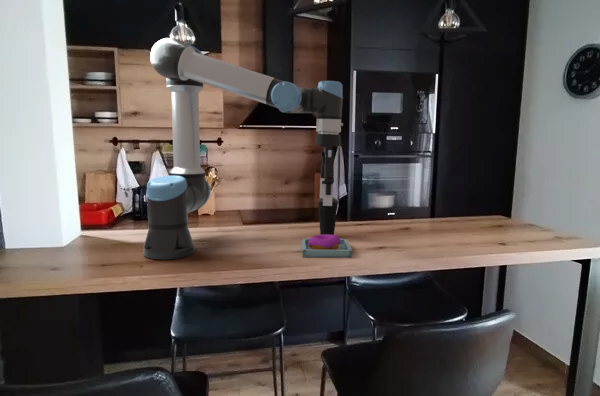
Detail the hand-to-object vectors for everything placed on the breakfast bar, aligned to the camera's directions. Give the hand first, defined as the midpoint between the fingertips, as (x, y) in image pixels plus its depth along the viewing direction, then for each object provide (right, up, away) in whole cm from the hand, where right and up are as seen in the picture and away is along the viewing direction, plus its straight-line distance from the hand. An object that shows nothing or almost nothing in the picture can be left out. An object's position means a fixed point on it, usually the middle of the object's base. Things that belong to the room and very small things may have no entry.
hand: (325, 201), depth 132 cm
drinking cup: (+2, -13, +20) cm, 24 cm away
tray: (0, -16, +2) cm, 16 cm away
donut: (0, -15, +2) cm, 16 cm away
